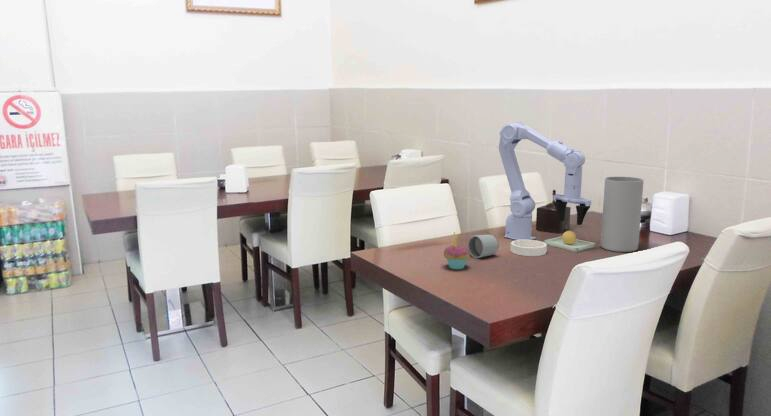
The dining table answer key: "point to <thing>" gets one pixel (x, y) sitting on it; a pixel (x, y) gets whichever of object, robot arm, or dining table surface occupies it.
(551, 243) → the tray
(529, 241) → the bowl
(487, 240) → the ceramic mug
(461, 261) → the cupcake
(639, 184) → the cylinder vase
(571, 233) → the ball
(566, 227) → the brown manual coffee grinder
